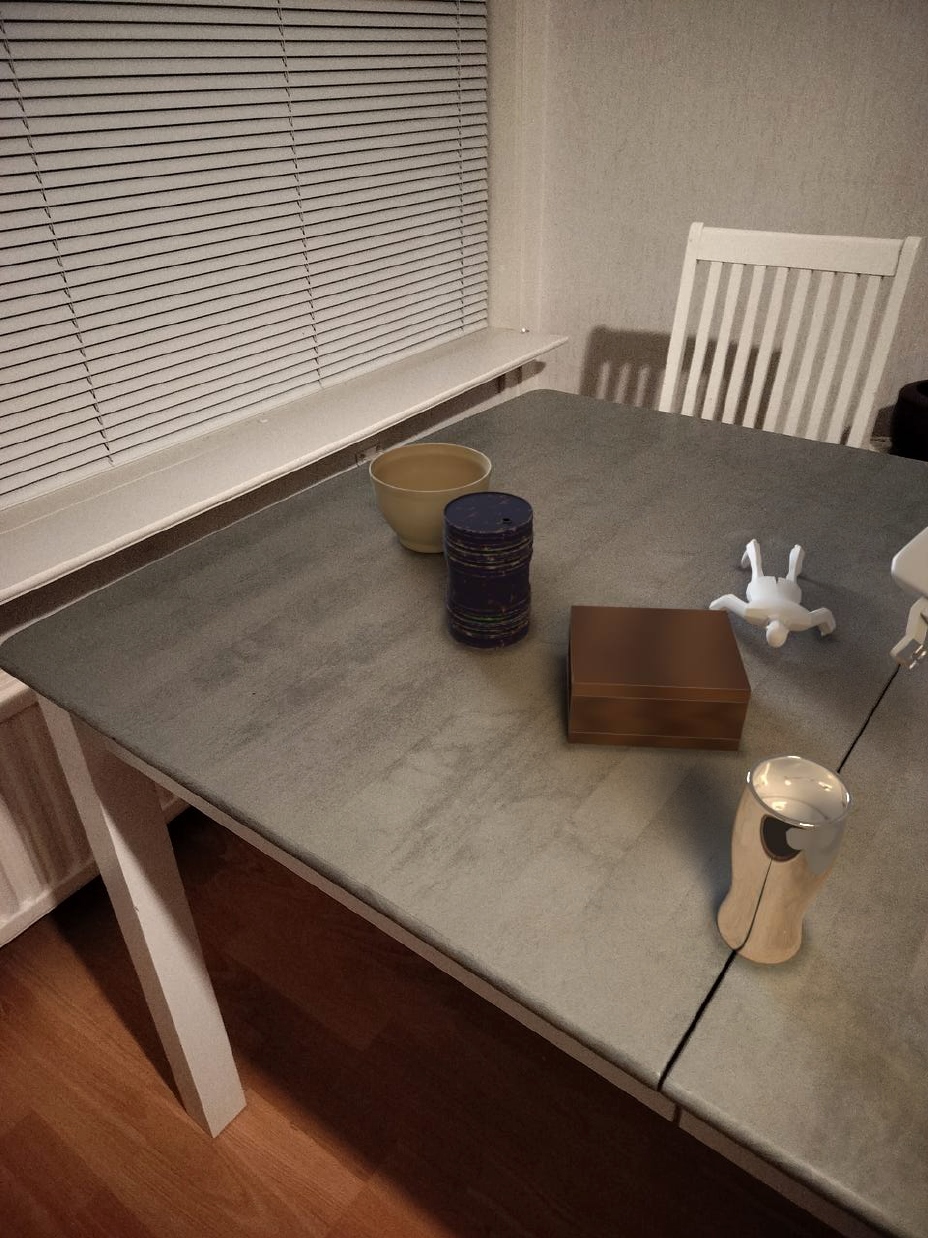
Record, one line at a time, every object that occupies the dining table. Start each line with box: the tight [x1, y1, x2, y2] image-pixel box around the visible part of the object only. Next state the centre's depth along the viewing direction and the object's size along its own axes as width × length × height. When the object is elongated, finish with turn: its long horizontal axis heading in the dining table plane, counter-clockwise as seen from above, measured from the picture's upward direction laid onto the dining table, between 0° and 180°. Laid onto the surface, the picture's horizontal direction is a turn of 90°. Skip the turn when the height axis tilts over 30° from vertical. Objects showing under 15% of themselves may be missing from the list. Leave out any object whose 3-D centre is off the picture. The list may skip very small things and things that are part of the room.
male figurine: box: [708, 538, 837, 648], centre depth 94 cm, size 14×6×25 cm
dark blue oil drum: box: [443, 490, 535, 651], centre depth 92 cm, size 10×10×15 cm
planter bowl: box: [368, 442, 493, 554], centre depth 111 cm, size 16×16×11 cm
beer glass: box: [717, 752, 854, 965], centre depth 58 cm, size 7×7×15 cm
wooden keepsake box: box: [566, 604, 752, 752], centre depth 82 cm, size 16×13×8 cm
